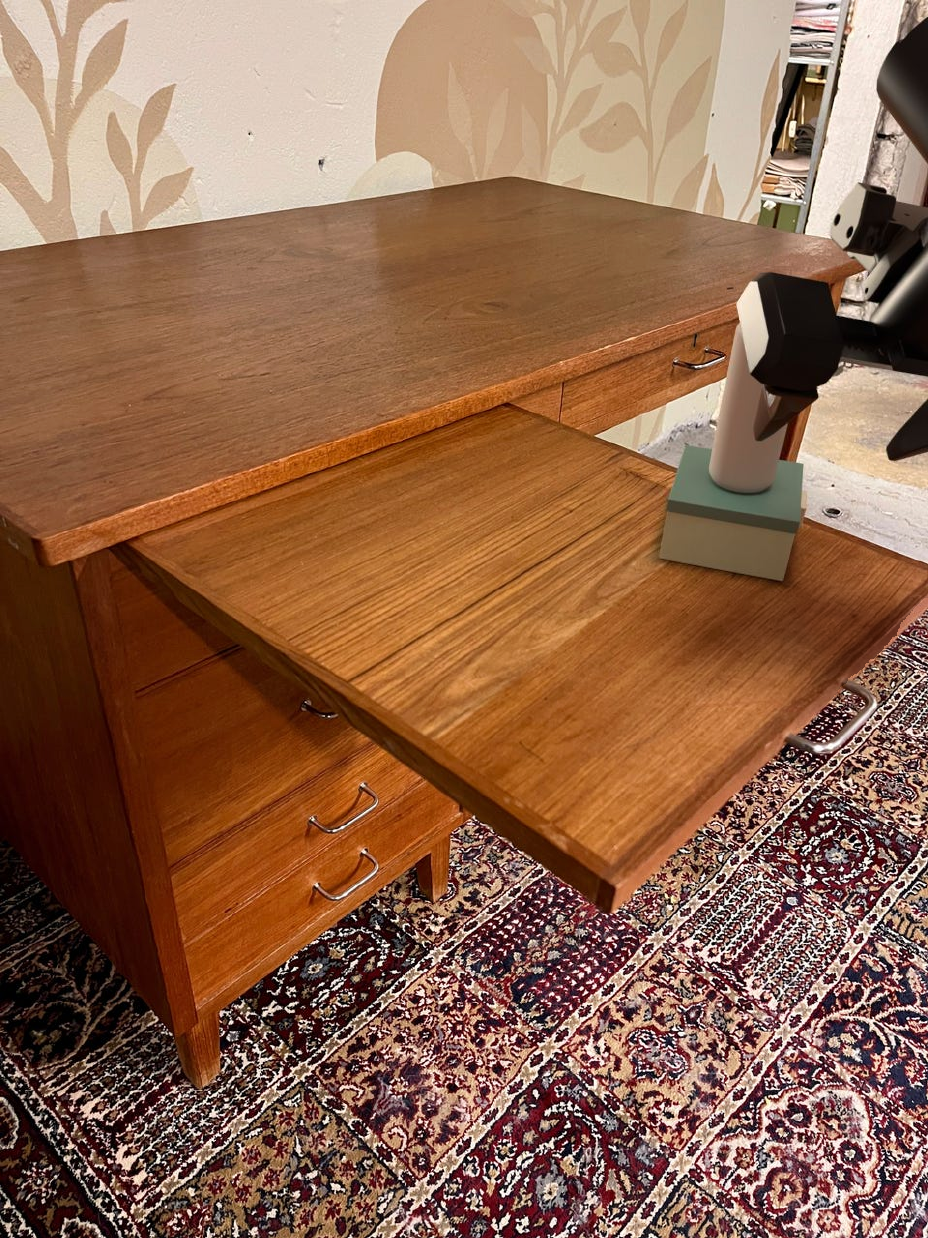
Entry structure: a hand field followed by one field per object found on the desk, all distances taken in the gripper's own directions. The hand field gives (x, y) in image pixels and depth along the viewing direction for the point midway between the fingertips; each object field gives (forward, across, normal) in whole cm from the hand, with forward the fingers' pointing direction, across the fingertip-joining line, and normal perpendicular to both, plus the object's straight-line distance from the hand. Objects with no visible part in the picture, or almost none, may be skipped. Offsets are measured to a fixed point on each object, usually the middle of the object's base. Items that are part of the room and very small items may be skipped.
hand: (824, 445), depth 60 cm
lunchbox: (+16, -2, -3) cm, 16 cm away
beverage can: (+11, -1, -5) cm, 12 cm away
